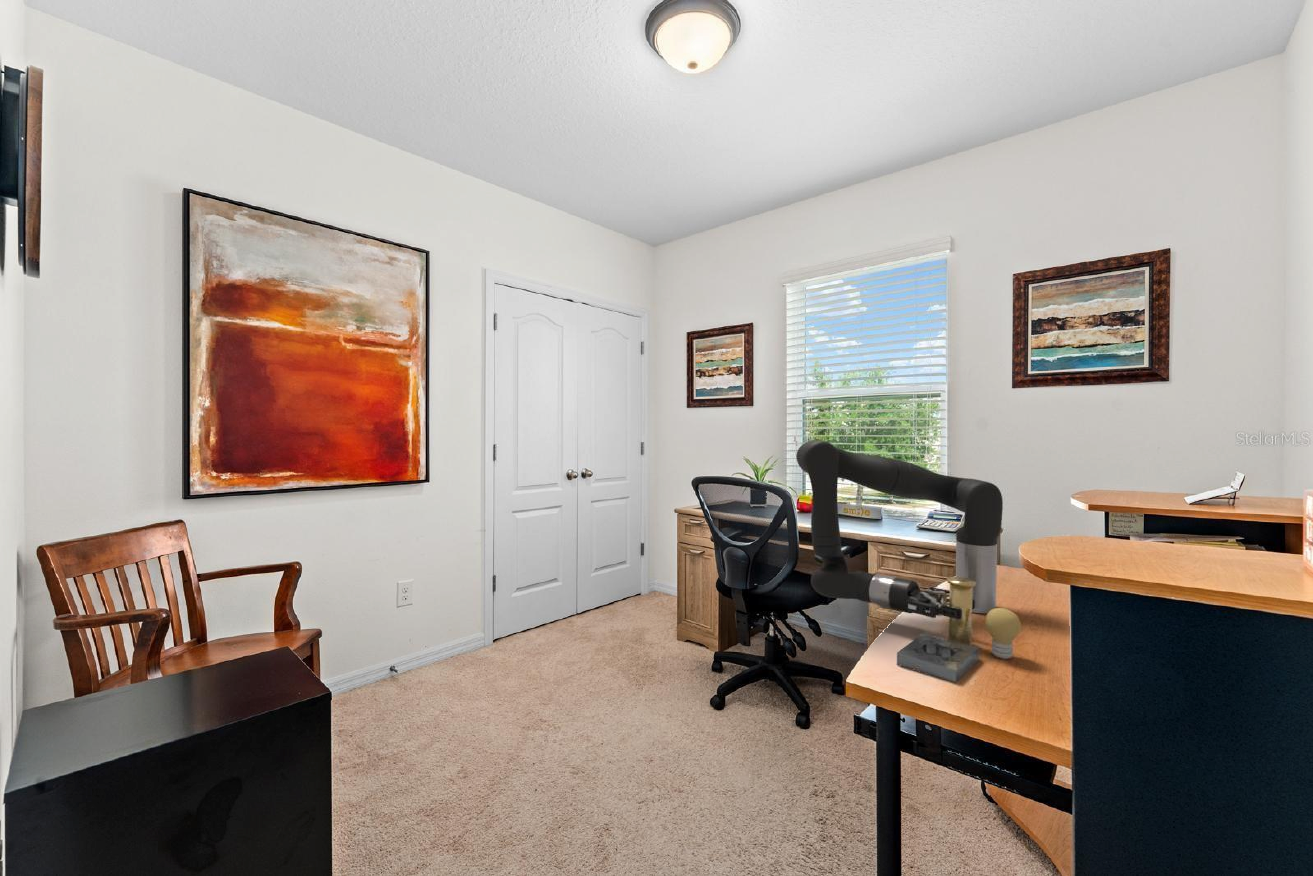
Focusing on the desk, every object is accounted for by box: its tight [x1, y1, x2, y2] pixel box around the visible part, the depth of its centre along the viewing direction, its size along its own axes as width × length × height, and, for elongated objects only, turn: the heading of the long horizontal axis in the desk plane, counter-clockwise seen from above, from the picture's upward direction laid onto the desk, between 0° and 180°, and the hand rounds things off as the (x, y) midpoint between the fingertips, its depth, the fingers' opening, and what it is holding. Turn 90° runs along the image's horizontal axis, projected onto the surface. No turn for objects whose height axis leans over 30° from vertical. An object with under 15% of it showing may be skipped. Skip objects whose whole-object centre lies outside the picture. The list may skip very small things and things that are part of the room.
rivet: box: [946, 576, 976, 646], centre depth 124 cm, size 6×6×14 cm
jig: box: [896, 632, 980, 684], centre depth 115 cm, size 14×11×2 cm
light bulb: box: [984, 607, 1022, 660], centre depth 117 cm, size 6×6×10 cm
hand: (968, 609), depth 123 cm, fingers open, 8 cm apart
